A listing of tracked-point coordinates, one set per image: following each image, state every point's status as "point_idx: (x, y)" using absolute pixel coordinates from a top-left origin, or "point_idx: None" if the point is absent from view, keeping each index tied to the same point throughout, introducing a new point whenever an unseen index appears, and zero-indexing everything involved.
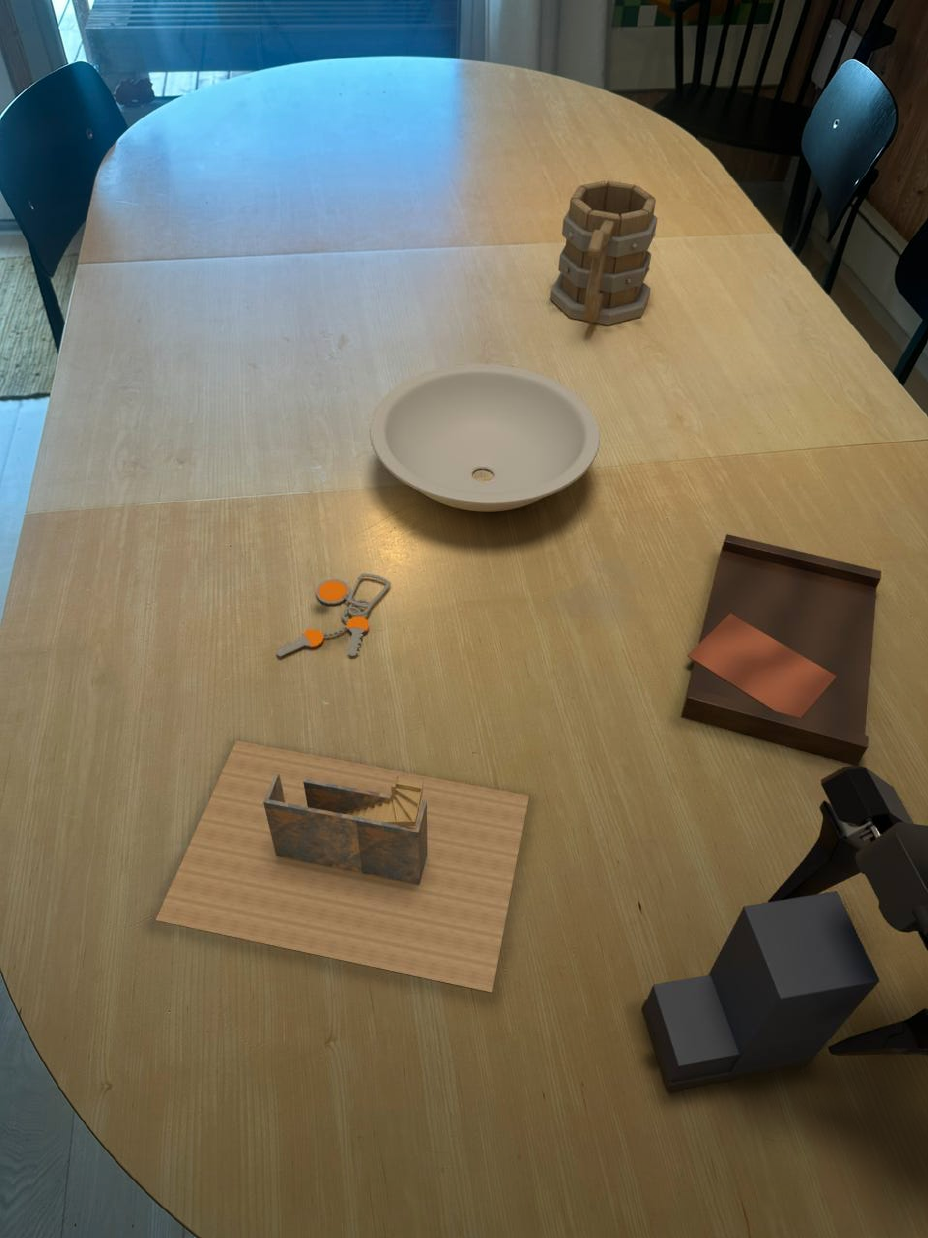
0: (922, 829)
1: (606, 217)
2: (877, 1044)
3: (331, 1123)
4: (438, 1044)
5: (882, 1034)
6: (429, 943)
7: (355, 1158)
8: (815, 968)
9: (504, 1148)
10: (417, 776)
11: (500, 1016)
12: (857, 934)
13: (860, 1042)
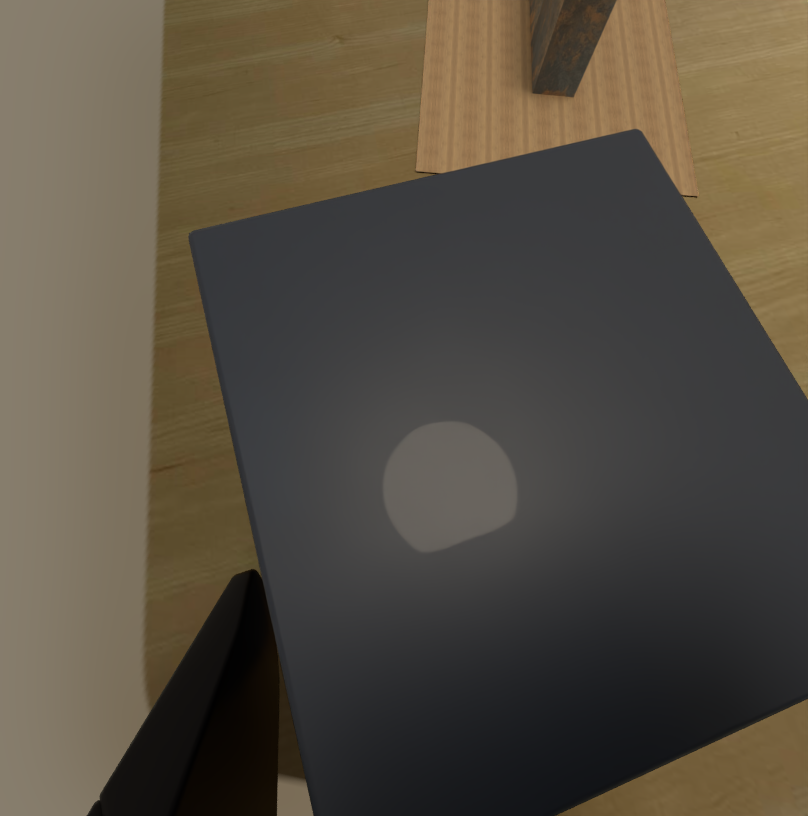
0: None
1: None
2: (135, 766)
3: (258, 49)
4: (347, 127)
5: (142, 812)
6: (462, 108)
7: (225, 70)
8: (376, 425)
9: (239, 194)
10: (676, 78)
11: (388, 182)
12: (678, 757)
13: (196, 678)
